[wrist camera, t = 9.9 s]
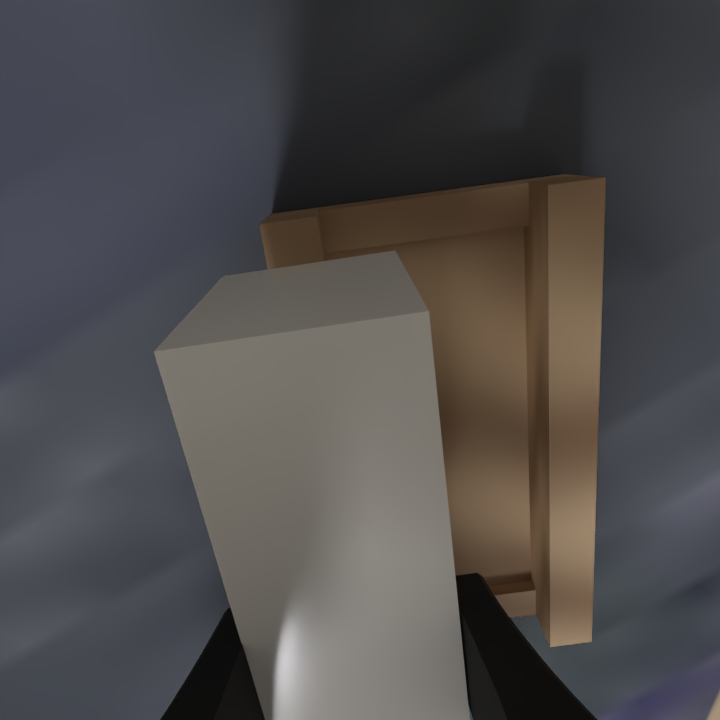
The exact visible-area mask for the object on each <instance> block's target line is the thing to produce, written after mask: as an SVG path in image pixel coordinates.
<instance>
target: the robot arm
mask: <svg viewBox="0 0 720 720" xmlns="http://www.w3.org/2000/svg"><path fill="white" fill-rule="evenodd" d="M456 586H457V596H458V606H459V616H460V626H461V636H462V646H463V656H464V666H465V676H466V686H467V696H468V704H469V707H470V710H471V714H472V717H473V720H597V719H596V718H595V717H594V716H593V715H592V714H591V713H590V712H589V711H588V710H587V709H586V707H585V706H584V705H583V704H582V703H581V702H580V701H579V700H578V699H577V698H576V697H575V696H574V695H573V694H572V692H571V691H570V690H569V689H568V688H567V687H566V686H565V685H564V684H563V682H562V681H561V680H560V679H559V678H558V677H557V676H556V675H555V674H554V672H553V671H552V670H551V669H550V668H549V666H548V665H547V664H546V663H545V662H544V661H543V659H542V658H541V657H540V656H539V654H538V653H537V652H536V651H535V650H534V648H533V647H532V646H531V645H530V643H529V642H528V641H527V640H526V638H525V637H524V636H523V635H522V633H521V632H520V631H519V629H518V628H517V627H516V625H515V624H514V623H513V621H512V620H511V619H510V617H509V616H508V615H507V613H506V612H505V610H504V609H503V608H502V606H501V605H500V603H499V602H498V600H497V599H496V597H495V596H494V594H493V593H492V591H491V590H490V588H489V586H488V585H487V583H486V581H485V580H484V578H483V576H481V575H480V574H479V573H471V574H464V575H457V576H456ZM160 720H265V718H264V714H263V711H262V708H261V704H260V701H259V698H258V694H257V691H256V688H255V684H254V681H253V678H252V674H251V671H250V667H249V664H248V661H247V657H246V654H245V651H244V647H243V644H241V640H240V637H239V634H238V630H237V627H236V624H235V620H234V617H233V614H232V610H231V608H228V609H227V611H226V612H225V613H224V615H223V617H222V618H221V620H220V622H219V624H218V626H217V627H216V629H215V631H214V633H213V634H212V636H211V638H210V640H209V642H208V643H207V645H206V647H205V648H204V650H203V652H202V654H201V655H200V657H199V659H198V660H197V662H196V664H195V665H194V667H193V669H192V671H191V672H190V674H189V675H188V677H187V679H186V680H185V682H184V683H183V685H182V687H181V688H180V690H179V691H178V693H177V695H176V696H175V698H174V699H173V701H172V703H171V704H170V706H169V707H168V709H167V710H166V712H165V713H164V715H163V716H162V718H161V719H160Z"/></svg>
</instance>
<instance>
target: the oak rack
mask: <svg viewBox="0 0 720 720" xmlns="http://www.w3.org/2000/svg"><path fill="white" fill-rule="evenodd" d="M605 192H606V177H595V176H582V175H568V174H561V175H553V176H546V177H538V178H531V179H524V180H516V181H509V182H502V183H494V184H487V185H480V186H472V187H465V188H457V189H450V190H443V191H435V192H428V193H421V194H413V195H406V196H398V197H391V198H384V199H376V200H369V201H362V202H354V203H347V204H339V205H332V206H325V207H317V208H310V209H303V210H295V211H288V212H280V213H273V214H271V215H269V216H268V217H267V218H266V219H265V220H264V221H263V222H261V223H260V224H259V225H260V231H261V236H262V241H263V247H264V252H265V257H266V263H267V268H268V270H269V269H275V268H282V267H289V266H295V265H302V264H309V263H315V262H322V261H329V260H335V259H342V258H349V257H355V256H362V255H369V254H375V253H382V252H389V251H396V253H397V254H398V256H399V258H400V260H401V262H402V263H403V265H404V267H405V269H406V271H407V272H408V274H409V276H410V278H411V280H412V281H413V283H414V285H415V287H416V289H417V290H418V292H419V294H420V296H421V298H422V299H423V301H424V303H425V305H426V307H427V308H428V310H429V317H430V327H431V337H432V347H433V357H434V367H435V377H436V387H437V397H438V407H439V417H440V427H441V437H442V447H443V457H444V467H445V477H446V487H447V497H448V507H449V517H450V527H451V537H452V547H453V557H454V567H455V576H457V575H464V574H471V573H479V574H480V575H481V576H483V578H484V580H485V581H486V583H487V585H488V586H489V588H490V590H491V591H492V593H493V594H494V596H495V597H496V599H497V600H498V602H499V603H500V605H501V606H502V608H503V609H504V610H505V612H506V613H507V615H508V616H509V617H510V618H512V617H520V616H527V615H535V614H536V616H537V618H538V620H539V622H540V625H541V627H542V629H543V632H544V634H545V636H546V638H547V641H548V643H549V645H550V647H555V646H562V645H570V644H578V643H585V642H592V613H593V580H594V548H595V516H596V483H597V451H598V419H599V386H600V354H601V322H602V289H603V257H604V225H605Z"/></svg>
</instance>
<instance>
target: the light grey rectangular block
mask: <svg viewBox="0 0 720 720" xmlns="http://www.w3.org/2000/svg"><path fill="white" fill-rule="evenodd" d="M154 354H155V357H156V360H157V364H158V367H159V370H160V374H161V377H162V380H163V384H164V387H165V390H166V394H167V397H168V400H169V404H170V407H171V410H172V414H173V417H174V420H175V424H176V427H177V430H178V434H179V437H180V440H181V444H182V447H183V450H184V454H185V457H186V460H187V464H188V467H189V470H190V474H191V477H192V480H193V484H194V487H195V490H196V494H197V497H198V500H199V504H200V507H201V510H202V514H203V517H204V520H205V524H206V527H207V530H208V534H209V537H210V540H211V544H212V547H213V550H214V554H215V557H216V560H217V564H218V567H219V570H220V574H221V577H222V580H223V584H224V587H225V590H226V594H227V597H228V600H229V604H230V607H231V610H232V614H233V617H234V620H235V624H236V627H237V630H238V634H239V637H240V640H241V644H243V647H244V651H245V654H246V657H247V661H248V664H249V667H250V671H251V674H252V678H253V681H254V684H255V688H256V691H257V694H258V698H259V701H260V704H261V708H262V711H263V714H264V718H265V720H470V716H469V706H468V696H467V686H466V676H465V666H464V656H463V646H462V636H461V626H460V616H459V606H458V596H457V586H456V576H455V567H454V557H453V547H452V537H451V527H450V517H449V507H448V497H447V487H446V477H445V467H444V457H443V447H442V437H441V427H440V417H439V407H438V397H437V387H436V377H435V367H434V357H433V347H432V337H431V327H430V317H429V310H428V308H427V307H426V305H425V303H424V301H423V299H422V298H421V296H420V294H419V292H418V290H417V289H416V287H415V285H414V283H413V281H412V280H411V278H410V276H409V274H408V272H407V271H406V269H405V267H404V265H403V263H402V262H401V260H400V258H399V256H398V254H397V253H396V251H389V252H382V253H375V254H369V255H362V256H355V257H349V258H342V259H335V260H329V261H322V262H315V263H309V264H302V265H295V266H289V267H282V268H275V269H269V270H262V271H255V272H249V273H242V274H235V275H228V276H223V277H222V278H221V279H220V280H219V281H218V282H217V283H216V284H215V285H214V287H213V288H212V289H211V290H210V291H209V292H208V293H207V294H206V295H205V296H204V297H203V299H202V300H201V301H200V302H199V303H198V304H197V305H196V306H195V307H194V308H193V309H192V311H191V312H190V313H189V314H188V315H187V316H186V317H185V318H184V319H183V320H182V321H181V323H180V324H179V325H178V326H177V327H176V328H175V329H174V330H173V331H172V332H171V333H170V334H169V336H168V337H167V338H166V339H165V340H164V341H163V342H162V343H161V344H160V345H159V346H158V348H157V349H156V350H155V351H154Z"/></svg>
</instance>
